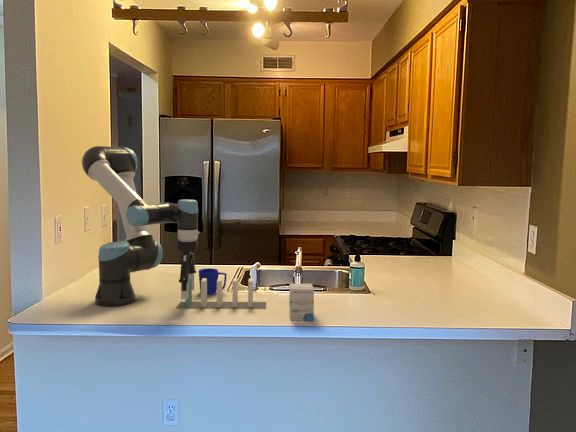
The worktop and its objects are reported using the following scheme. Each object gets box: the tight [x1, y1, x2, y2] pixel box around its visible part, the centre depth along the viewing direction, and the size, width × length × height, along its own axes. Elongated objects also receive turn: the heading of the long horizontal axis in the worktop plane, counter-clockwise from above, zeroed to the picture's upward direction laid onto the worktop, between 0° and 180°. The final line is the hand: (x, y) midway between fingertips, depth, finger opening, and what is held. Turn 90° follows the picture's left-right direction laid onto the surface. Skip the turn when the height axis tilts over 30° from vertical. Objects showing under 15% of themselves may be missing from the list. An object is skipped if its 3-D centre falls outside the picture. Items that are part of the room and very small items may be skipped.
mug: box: [198, 267, 228, 295], centre depth 219 cm, size 8×12×10 cm
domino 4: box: [247, 278, 254, 307], centre depth 200 cm, size 2×5×10 cm, turn 1°
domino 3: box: [232, 278, 239, 307], centre depth 200 cm, size 2×5×10 cm, turn 1°
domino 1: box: [200, 278, 208, 307], centre depth 200 cm, size 2×5×10 cm, turn 1°
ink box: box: [288, 283, 315, 322], centre depth 187 cm, size 9×8×12 cm
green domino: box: [184, 278, 193, 307], centre depth 200 cm, size 2×5×10 cm, turn 1°
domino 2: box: [216, 277, 223, 307], centre depth 200 cm, size 2×5×10 cm, turn 1°
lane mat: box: [175, 300, 267, 310], centre depth 200 cm, size 34×10×1 cm, turn 91°
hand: (187, 294), depth 200 cm, fingers open, 13 cm apart
